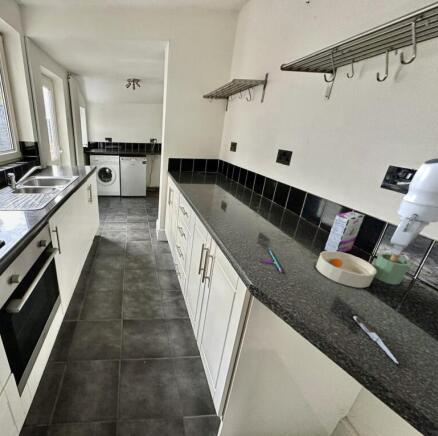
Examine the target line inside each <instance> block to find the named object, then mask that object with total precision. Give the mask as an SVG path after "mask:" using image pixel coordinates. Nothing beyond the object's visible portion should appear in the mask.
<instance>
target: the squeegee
mask: <svg viewBox="0 0 438 436" xmlns="http://www.w3.org/2000/svg"><path fill="white" fill-rule="evenodd" d="M268 252H269V253H270V255H271V257H272V260H273V261H274V262H273V261H271V260H262V263H266V264H274V265H276V267H277V269H278V271H279V273H280V274H283V270H282V268H281V267H280V265H279V263H278V261H277V259H276V258H275V255H274V254H273V252H272V251H271V250H268Z"/></svg>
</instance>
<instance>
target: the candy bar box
mask: <svg viewBox="0 0 438 436" xmlns="http://www.w3.org/2000/svg"><path fill="white" fill-rule="evenodd" d="M365 216H366V215H365V214H362V213H360V212H356V211H348V212H343V213H339V214H336V215H335V216H334V220H333V224H332V226H331V229H330V232H329V235H328V236H327V237H328V238H327V240H326V243H325V246H324V251H337V252H343V253H347V252H349V251H351V250H352V248H353V246H354V244H355V241H356V238H357V236H358V234H359V231H360V228H361V226H362V223H363V221H364V219H365Z"/></svg>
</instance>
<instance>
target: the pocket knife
mask: <svg viewBox="0 0 438 436" xmlns="http://www.w3.org/2000/svg"><path fill="white" fill-rule="evenodd" d="M352 318H353V319H354V321H355V322H356V323H357V325H359V326H360V327H361V328H362V330H363V331H364V332H365V333H366V334H367V335H368V336H369V337H370V338H371V339H372V341H374V342H376V343H377V344H378V346H379V347H380V348H381V349H382V350H383V351H384V352H385V353H386V354H387V355H388V357H389V358H390V359H391V360H392V361H393V362H394V363H395V364H398V365H399V361H398V360H397V359H396V357H395V356H394V355H393V353H392V352H391V351H390V350H389V348H388V347H387V346H386V345H385V343H384V342H383V341H382V339H381V338H380V336H379V335H378V334H377V333H376V332H375V331H374V330H373V329H372V328H371V327H370V326H369V325H368V324H367V322H365V321H364V320H363V319H362V318H361V317H360V316H356V315H354V316H353V317H352Z"/></svg>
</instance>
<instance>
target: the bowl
mask: <svg viewBox="0 0 438 436" xmlns="http://www.w3.org/2000/svg"><path fill="white" fill-rule="evenodd" d="M333 259H340V260H341V261H342V263H343V264H342V266H341V267H335V266H333V265H332V264H331V261H332V260H333ZM373 265H374V264H371V263H370V262H369V261H367V260H365V259H363V258H360V257H357V256H356V255H353V254H350V253H347V252H337V251H327V250H323V251H322V252H320V253H319V256H318V258H317V261H316V264H315V268H316V269H317V271H318V272H319V273H320V274H321V275H323V276H324V277H326V278H327V279H329V280H331V281H333V282H336V283H338V284H342V285H344V286H348V287H352V288H367V287H370V286H371V284H372V283H373V281H374V279H375V275H376V273H377V271H376V269H375V268H374V267H373Z"/></svg>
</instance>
